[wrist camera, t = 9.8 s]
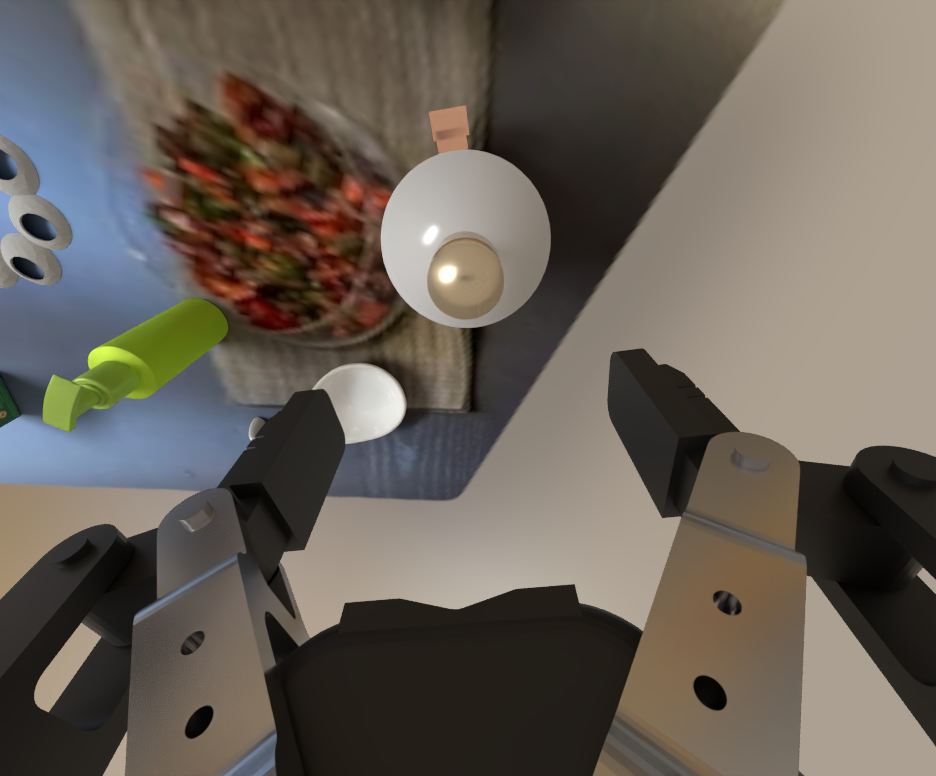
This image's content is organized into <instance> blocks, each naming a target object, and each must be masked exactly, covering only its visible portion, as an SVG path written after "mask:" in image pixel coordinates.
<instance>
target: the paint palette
mask: <svg viewBox="0 0 936 776" xmlns="http://www.w3.org/2000/svg"><path fill="white" fill-rule="evenodd" d="M0 149H1V150H2V151H4V152H5V153H7V154H9V155H10V156H11V157H12V158H13V160H14V161H15V163H16V165H17V175H16V176H15V177H14V178H13V179H12V180H4V179H0V190H1V191H3V192H4V193H6V194H9V195H11V196H12V198H11V199H10V201H9V205H8V210H9V216H10V218H11V221H12V223H13V224H14V226H15V227H16V228H17V229H18V231H19V232H20V233H9V234H7V235H5V236H4V238H3V239H2V241H1V249H0V288H9V287H12V286H14V285H15V284H16V283H17V280H18V275H20V276H21V277H23V278H25V279H27V280H29V281H32V282H35V283H37V284H42V285H52V284H55V283H56V282H58V281H59V280H60V278H61V267H60V264H59V262H58V260H57V259H56V257H55V255H54V254H53V253H52V252H51V251H50V250H49V249H51V250H63V249H65V248H67V247H68V246H69V245H70V243H71V240H72V233H71V229H70V226H69V224H68V222H67V220H66V219H65V217H64V216H63V215H62V213H61V212H60V211H59V210H58V209H57V208H56V207H55V206H54V205H53V204H51V203H50V202H49V201H47V200H46V199H44V198H42V197H40V196H38V195H35V194H36V192H37V191H38V188H39V177H38V174H37V171H36V168H35V167H34V165H33V163H32V162H31V160H30V159H29V157H28V156H27V155H26V154H25V153H24V152H23V151H22V150H21V149H20V148H19V147H18V146H17V145H16V144H15V143H13V142H12V141H10V140H9V139H7V138H6V137H4V136H2V135H0ZM27 213H31V214H36V215H39V216H41V217H43V218H45V219H46V220H48V221H49V222H50V223H51V224H52V225H53V226H54V228H55V230H56V232H57V235H56V237H55V239H53V240H51V241H46V240H41V239H39V238H36V237H35V236H33V235H31V234H30V233H29V232H28V231H27V230H26V229H25V228H24V226H23V224H22V217H23V215H25V214H27ZM14 257H23V258H26V259H28V260H30V261H32V262H34V263H35V264H36V265H37V266H39V267H40V268H41V270H42V271H43V273H44V278H43V279H41V280H37V279H33V278H30V277H28V276H26V275H24V274H22V273H21V272H19V271H18V270H17V269H16V268H15V267H14V265H13V263H12V259H13V258H14Z"/></svg>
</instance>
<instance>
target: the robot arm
mask: <svg viewBox="0 0 936 776" xmlns="http://www.w3.org/2000/svg"><path fill="white" fill-rule="evenodd" d="M608 411H609V416H610V419H611V421H612V423H613V425H614V427H615V429H616V431H617V433H618V435H619V437H620V439H621V441H622V442H623V444H624V446H625V448H626V450H627V452H628V454H629V456H630V458H631V459H632V462H633V463H634V465H635V467H636V469H637V471H638V473H639V475H640V476H641V479H642V481H643V482H644V484H645V486H646V488H647V490H648V492H649V493H650V496H651V498H652V500H653V501H654V503H655V505H656V507H657V509H658V511H659V513H660V515H661V516H662V518H666V517H678V516H681V521H680V523H679V526H678V529H677V532H676V535H675V538H674V541H673V544H672V547H671V550H670V553H669V556H668V559H667V562H666V565H665V568H664V571H663V574H662V577H661V580H660V583H659V586H658V589H657V592H656V595H655V598H654V601H653V604H652V607H651V610H650V613H649V616H648V619H647V622H646V625H645V628H644V631H642V630H640V629H639V628H638V627H636V626H635V625H633V624H631V623H629V622H628V621H626V620H624V619H622V618H621V617H619V616H617V615H614V614H612V613H610V612H608V611H606V610H603V609H599V608H597V607H593V606H590V605H586V604H581V603H579V602H578V597H577V593H576V589H575V585H574V584H573V585H561V586H549V587H536V588H524V589H515V590H512V591H509V592H507V593H504V594H501V595H498V596H496V597H493V598H490V599H487V600H484V601H481V602H479V603H476V604H473V605H470V606H467V607H465V608H461V609H455V610H454V609H447V608H442V607H438V606H433V605H428V604H423V603H418V602H413V601H409V600H404V599H388V600H376V601H365V602H364V601H363V602H352V603H345V605H344V609H343V612H342V616H341V620H340V623H339V624H337V625H334V626H332V627H330V628H328V629H326V630H324V631H322V632H320V633H319V634H317V635H315V636H314V637H312V638H310V637H309V635H308V633H307V631H306V628H305V626H304V623H303V621H302V618H301V615H300V612H299V609H298V606H297V603H296V600H295V598H294V595H293V592H292V589H291V586H290V583H289V581H288V578H287V575H286V572H285V569H284V567H283V566H282V564H281V563H280V560H281V558H282V555H283V553H284V552H286V551H297V550H304V549H305V547H306V544H307V542H308V539H309V537H310V534H311V532H312V530H313V527H314V525H315V522H316V520H317V517H318V515H319V512H320V510H321V507H322V505H323V502H324V500H325V497H326V495H327V493H328V490H329V488H330V485H331V483H332V480H333V478H334V475H335V473H336V471H337V468H338V466H339V463H340V461H341V458H342V456H343V453H344V450H345V434H344V431H343V428H342V426H341V423H340V421H339V419H338V416H337V414H336V411H335V409H334V407H333V404H332V402H331V399H330V397H329V395H328V393H327V392H326V391H325V390H324V389H316V390H308V391H300V392H295V393H294V394H293V395H292V397H291V398H290V400H289V401H288V402H287V404H286V405H285V407H284V408H283V409H282V411H279V412H278V413H277V414H276V415H274V416H273V417H272V418H271V419H269V420H268V421H267V422H266V423H264V425H263V426H262V427H261V429H260V430H259V431H258V433H257V434H256V435H255V439H252V441H251V442H250V444H249V445H248V446H247V450H244V452H243V453H242V454H241V456H240V457H239V458H238V460H237V461H236V463H235V464H234V465H233V467H232V468H231V469H230V471H229V472H228V473H227V475H226V476H225V477H224V479H223V480H222V482H221V483H220V484H219V486H218V487H217V488H213V489H208V490H205V491H202V492H199V493H197V494H195V495H193V496H191V497H189V498H187V499H186V500H184V501H182V502H181V503H180V504H178V505H177V506H176V507H174V508H173V509H172V510H171V511H170V512H169V513H168V514H167V515H166V516H165V518H164V519H163V520H162V522H161V523H160V525H159V527H158V528H156V529H153V530H150V531H147V532H144V533H141V534H138V535H135V536H132V537H129V538H126V537H125V536H124V535H123V534H122V533H121V532H120V531H119V530H118V529H117V528H116V527H115V526H113V525H110V524H103V525H97V526H93V527H90V528H87V529H85V530H82V531H80V532H78V533H76V534H74V535H72V536H71V537H69V538H68V539H66V540H64V541H63V542H61V543H60V544H58V545H57V546H55V547H54V548H53V549H51V550H50V551H49V552H48V553H47V554H45V555H44V556H43V557H42V558H41V559H40V560H39V561H38V562H37V563H36V564H35V565H34V566H33V567H32V568H31V569H30V570H29V571H28V572H27V573H26V574H25V575H24V576H23V577H22V578H21V579H20V580H19V581H18V582H17V583H16V584H15V585H14V586H13V587H12V588H11V589H10V591H9V592H7V593H6V594H5V596H4V597H3V598H2V599H1V600H0V776H103V774H104V772H105V770H106V768H107V767H108V765H109V763H110V761H111V759H112V757H113V755H114V754H115V752H116V750H117V748H118V746H119V744H120V743H121V741H122V739H123V737H124V735H125V733H126V732H127V748H126V769H125V776H804V775H803V774H802V773H801V772H799V748H800V723H801V699H802V674H803V650H804V649H803V648H804V625H805V600H806V576H811V577H812V578H813V579H814V581H815V582H816V583H817V585H818V586H819V587H820V589H821V590H822V591H823V593H824V594H825V596H826V597H827V598H828V600H829V601H830V602H831V604H832V605H833V606H834V608H835V609H836V611H837V612H838V613H839V615H840V616H841V617H842V618H843V620H844V622H845V623H846V624H847V626H848V627H849V628H850V630H851V631H852V632H853V634H854V635H855V637H856V638H857V639H858V641H859V642H860V643H861V645H862V646H863V648H864V649H865V650H866V652H867V653H868V654H869V656H870V657H871V658H872V660H873V661H874V663H875V664H876V665H877V667H878V668H879V669H880V671H881V672H882V673H883V675H884V676H885V678H887V680H888V682H889V683H890V684H891V686H892V687H893V688H894V690H895V691H896V693H897V694H898V695H899V697H900V698H901V699H902V701H903V702H904V703H905V705H906V706H907V708H908V709H909V710H910V711H911V713H912V714H913V716H914V717H915V719H916V720H917V721H918V723H919V724H920V725H921V727H922V728H923V729H924V731H925V732H926V734H927V735H928V736H929V738H930V739H931V740H932V741H933V743H934V745H935V746H936V594H935V593H934V592H933V591H932V590H931V589H930V588H929V587H928V586H927V585H926V584H925V583H924V582H923V581H922V580H921V579H920V578H919V577H918V576H917V574H918V573H919V571H920V570H921V569H922V568H925V569H926V570H927V571H928V572H929V573H930V574H931V575H932V576H933V577H934V578H935V579H936V457H934V456H931V455H928V454H926V453H922V452H919V451H915V450H911V449H907V448H902V447H895V446H873V447H868V448H865V449H863V450H861V451H860V452H859V453H858V454H857V455H856V457H855V459H854V460H853V462H852V464H851V466H841V465H832V464H823V463H814V462H805V461H798V460H797V458H796V457H795V456H794V455H793V454H792V453H791V452H790V451H789V450H788V449H787V448H785V447H784V446H782V445H780V444H779V443H777V442H775V441H773V440H771V439H769V438H766V437H763V436H760V435H756V434H751V433H745V432H740V431H739V430H738V429H737V428H736V427H735V426H734V425H733V424H732V423H731V422H730V421H729V420H728V418H727V417H726V416H725V415H724V414H723V413H722V412H721V411H720V410H719V409H718V408H717V407H716V406H715V405H714V404H713V403H712V402H711V401H710V400H709V399H708V398H705V395H704V394H703V392H702V391H701V390H700V389H699V388H698V387H697V388H696V387H695V384H694V383H693V382H692V381H691V380H690V379H689V378H688V377H687V376H686V375H685V374H684V373H683V372H681V371H679V370H677V369H675V368H673V367H671V366H669V365H667V364H663V365H658V364H657V363H656V362H655V361H654V360H653V359H652V357H651V356H650V355H649V354H648V353H647V352H646V351H645V350H644V349H634V350H627V351H619V352H613V353H612V355H611V359H610V371H609V386H608ZM80 623H83V624H84V625H85V626H87V627H88V628H90V629H91V630H93V631H94V632H95V633H97V634H98V635H100V636H101V639H100V640H99V642H98V643H97V644H96V646H95V647H94V649H93V650H92V652H91V653H90V654H89V656H88V657H87V659H86V660H85V662H84V663H83V664H82V666H81V667H80V669H79V670H78V671H77V673H76V674H75V676H74V677H73V679H72V680H71V682H70V683H69V684H68V686H67V687H66V689H65V690H64V692H63V693H62V694H61V696H60V697H59V699H58V700H57V701H56V703H55V705H54V706H53V707H52V709H51V710H50V711H49V713H48V712H46V711H44V710H42V709H40V708H39V707H38V706H37V705H36V704H35V701H34V691H35V687H36V684H37V682H38V680H39V678H40V676H41V675H42V673H43V672H44V671H45V669H46V668H47V667H48V665H49V664H50V663H51V661H52V660H53V659H54V657H55V656H56V655H57V654H58V652H59V651H60V650H61V648H62V647H63V646H64V644H65V643H66V642H67V640H68V639H69V638H70V637H71V635H72V634H73V633H74V631H75V630H76V629H77V627H78V626H79V625H80Z"/></svg>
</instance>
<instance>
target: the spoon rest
mask: <svg viewBox="0 0 936 776" xmlns="http://www.w3.org/2000/svg"><path fill="white" fill-rule="evenodd" d="M316 389H324V390H325V391H326V392H327V393H328V395H329V397H330V399H331V402H332V404H333V407H334V409H335V411H336V414H337V416H338V419H339V421H340V423H341V426H342V428H343V431H344V434H345V444H350V443H356V442H362V441H367V440H372V439H375V438H379V437H381V436H384V435H386V434H388V433H390V432H391V431H393V430H394V429H395V428H396V427H397V426H398V425H399V424H400V423H401V422H402V420H403V418H404V416H405V412H406V407H407V403H406V397H405V394H404V391H403V389H402V387H401V385H400V384H399V382H398V381H397V380H396V379H395V378H394V377H393V376H392V375H391V374H390V373H388V372H387V371H386V370H384V369H382V368H380V367H378V366H376V365H372V364H368V363H350V364H345V365H342V366H339V367H337V368H335V369H333V370H332V371H330V372H329V373H327V374H326V375H325V376H324V377H323V378H321V379H320V380H319V382H318V383H317V384H316V385H315V386H314V387H313V389H312V390H316ZM264 423H266V422H265V421H264V420H263V419H262V418H258V417H257V418H254V419H253V421H252V423H251V425H250V428H249V437H250V439H251V441H252V439H255V435H256V434H257V433H258V431H259V430H260V429H261V427H262V426H263V425H264Z"/></svg>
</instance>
